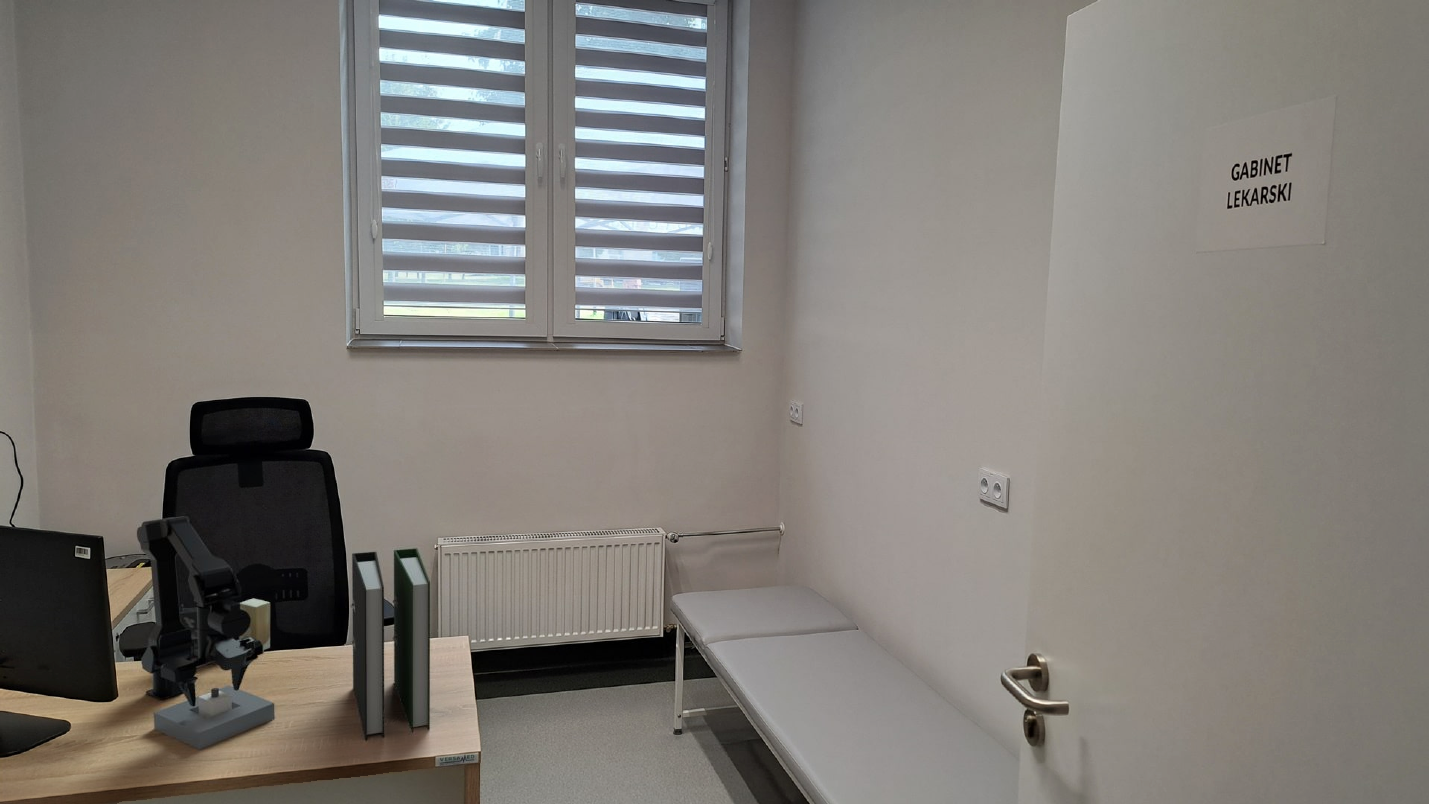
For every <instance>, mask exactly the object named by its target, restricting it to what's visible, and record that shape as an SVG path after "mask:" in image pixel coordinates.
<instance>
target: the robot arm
mask: <svg viewBox="0 0 1429 804" xmlns="http://www.w3.org/2000/svg"><path fill="white" fill-rule="evenodd" d="M136 537H137V541H138V542H139V546H140V549H141V551H142V552H143V553H144V554H145V555H146V556H147V558H148V559H149V560H150V568H151V569H150V570H151V581H152V582H151V583H152V593H153V606H154V618H155V624H154V627H153V629H152V630H151V632H150V634H149V636H148V638H147V643H148V644H147V645H148V646H147V648H146V650H145V652H144V653H143V655H142V656H141V659H140V662H141V667H142V668H141V669H143V670H144V671H145V672H147V673H148V674H150V675H152V688H151V689H148V690H146V691H145V694H146V695H148V696H151V697H152V698H155V699H157V700H161V701H163V700H166V699H169V698H171V697H174V696H177V695H180V694H184V696H185V698H186V701H187V700H188V702H189V704H190V705H191V706H193V707H194V706H195V703H196V697H197V695H196V682H197V680H198V678H199V677H197V676H196V674H197V669H200V668H203V667H205V666H210V665H209V664H212V663H215V662H216V663H217V664H216V665H218V667H220V669H221V670H222V671H231V673H230V674H231V682H232V687H234V690H236V691H237V690H239V689H240V687H241V684H242V682H243V680H244V676H245V673H246V671H247V669H248V667H249V665H250V664H251V663H252V662H254V661H255V660H257V659H258V657H259V656H260V655H263V654H264V652H265V650H264V645H263V643H262V642H261V641H260V640H257V639H254V638H251V637H244V638H241V639H239V636H241V635H243V634H244V633H245V632H246V631H247V630H248V628H249V626H250V623H251V618H250V616H249V614H248V613H247V612H246V611H244V610H242V609H240V603H241V602H237V600H240V599H242V598H243V595H242V593H241V592H242V590H243V589H242V587H241V585H240V581H239V580H238V578H237V576H236V574H235V571H234V570H233V568H231V566H230V565H229V564H228V563H227V562H226V561H225V560H224V559H223V558H220V557H218V556H214V555H213V554H212V553H211V552H210V551H209V548H207V546H206V545H205V544H204V542H203V540H202V539H201V537H200V536H199V534H198V533H197V531H196V530H195V528H194V527H193V525H192V520H191V518H190V517H189V516H185V515H183V516H176V517H175V516H172V517H164V518H160V519H158V518H157V519H154V520H153V519H152V520H145V521H143V522H142V523H141V526H138V528H137V529H136ZM177 555H179V557H180V559H181V560H182V561H183V563H184V564H185V566H186V568H187V570H188V571H189V574H188V575H189V576H188V579H187V582H188V587H189V590H190V592H191V594H192V596H193V601H194V602H195V603H196V608H197V630H195V631H194V636H196V637H198V649H196V650H194V642H193V640H192V638H191V631H190V630H189V629H187V628H186V627H185V626H184V625H183V623H182V622H181V618H180V609H181V605H180V597H179V596H180V595H179V586H178V585H179V583H178V573H177V560H176V557H177ZM236 638H238V639H236ZM193 652H194V655H196V656H198V658H197V659H194V660H192V658H193Z"/></svg>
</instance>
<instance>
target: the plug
mask: <svg viewBox="0 0 1429 804" xmlns="http://www.w3.org/2000/svg"><path fill="white" fill-rule="evenodd" d="M219 689H220V688H219V687H214V688H211V690H210V691H209V692H210V693H209V692H207V693H208V694H206V693H204V694H205V695H204V694H201V695H202V696H201V695H199V715H202V716H204V717H206V718H211V717H213V716H216V715H218V714H221V713H223V712H226V711H229V710H231V709H232V696H231V695H229V694H226V693H224V692H221V691H219Z"/></svg>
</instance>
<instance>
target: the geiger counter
mask: <svg viewBox="0 0 1429 804" xmlns="http://www.w3.org/2000/svg"><path fill="white" fill-rule="evenodd" d="M180 618H181V622H182V623H183V625H184V626H185V627H186V628H187V629H189V630H190V631H191V638H192V640H193V642H194V650H196V649H198V637H196V636H194V631H195V630H197V607H188V608H186V607H184V603H182V604H181V605H180ZM197 658H198V656H196V655H194V652H193V658H192V660H194V659H197ZM211 665H218V664H217V663H216V662H215V663H212V664H209V665H208V666H211Z"/></svg>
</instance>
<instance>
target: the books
mask: <svg viewBox="0 0 1429 804" xmlns="http://www.w3.org/2000/svg"><path fill="white" fill-rule="evenodd" d="M351 562H352V563H351V565H352V567H351V569H352V570H351V571H352V578H351V581H352V594H351V595H352V602H351V605H350V607H351V609H352V640H351V641H350V645H351V646H352V689H353V693H354V697H355V702H356V706H357V711H358V714H359V715H358V716H359V719H360V724H361V728H362V732H363V736H364V740H365V741H368V735H373V734H379V733H381V734H382V738H385V586H384V582H383V577H382V572H381V566H380V562H379V558H378V552H377V551H366V552H355V553H354V552H353V553H352V555H351ZM392 603H393V620H394V621H393V637H392V640H393V683H394V682H395V683H394V686H395V685H396V686H395V688H397V689H396V692H397V691H398V692H397V694H399V695H398V697H400V698H399V700H401V701H400V703H402V704H401V706H403V707H402V709H403V712H404V715H405V717H406V721H407V723H409V724H408V727H409V729H411V730H410V732H412V733H414V728H415V727H420V726H421V727H423V726H426V727H427V726H428V727H427V730H428V729H431V727H430V725H431V724H430V723H431V721H430V719H431V717H430V716H431V713H430V711H431V703H430V701H431V700H430V699H431V687H430V686H431V684H430V683H431V581H430V578H429V575H428V573H427V570H426V568H425V565H424V563H423V559H422V557H421V554H420V552H419V549H418V547H417V548H416V547H415V548H404V549H394V550H393V600H392ZM412 733H411V734H412Z"/></svg>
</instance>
